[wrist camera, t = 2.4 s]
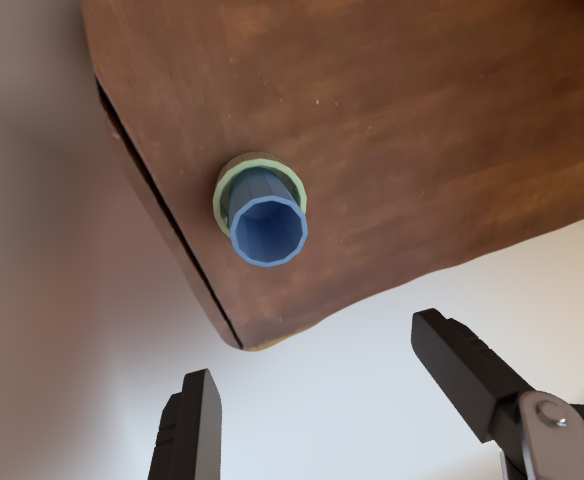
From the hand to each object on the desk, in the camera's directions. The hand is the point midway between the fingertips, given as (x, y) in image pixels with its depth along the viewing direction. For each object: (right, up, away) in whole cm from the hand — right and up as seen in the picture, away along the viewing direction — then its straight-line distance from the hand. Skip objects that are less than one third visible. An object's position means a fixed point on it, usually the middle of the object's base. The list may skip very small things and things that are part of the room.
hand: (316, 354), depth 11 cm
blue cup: (-5, +9, +19) cm, 22 cm away
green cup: (-5, +9, +20) cm, 22 cm away
